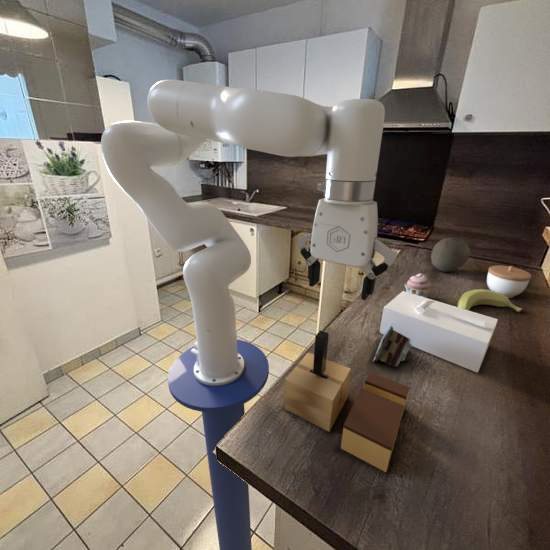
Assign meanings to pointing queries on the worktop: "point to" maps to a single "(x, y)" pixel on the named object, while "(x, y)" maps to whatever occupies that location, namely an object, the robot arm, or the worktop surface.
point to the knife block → (317, 392)
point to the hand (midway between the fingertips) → (338, 290)
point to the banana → (484, 299)
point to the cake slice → (386, 388)
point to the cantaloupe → (450, 254)
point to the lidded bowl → (507, 280)
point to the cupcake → (419, 285)
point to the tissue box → (440, 328)
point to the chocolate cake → (392, 348)
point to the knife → (320, 354)
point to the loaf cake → (372, 428)
